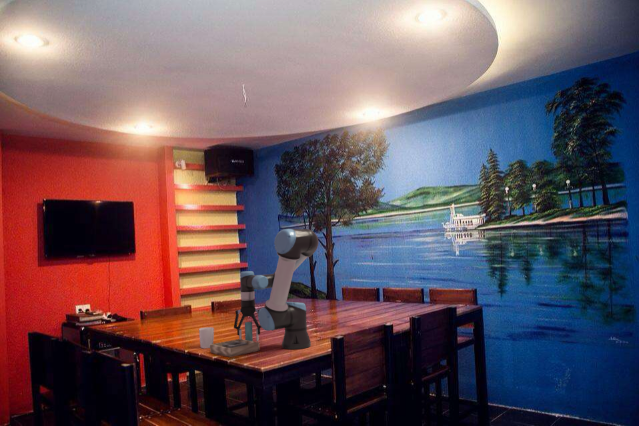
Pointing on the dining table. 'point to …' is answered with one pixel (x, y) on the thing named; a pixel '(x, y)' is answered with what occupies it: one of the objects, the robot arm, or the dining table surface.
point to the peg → (248, 331)
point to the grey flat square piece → (234, 347)
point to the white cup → (206, 337)
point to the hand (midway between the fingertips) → (249, 341)
